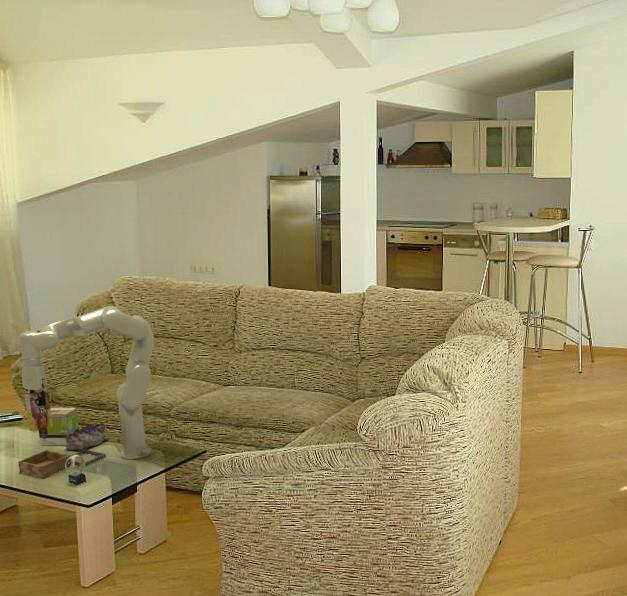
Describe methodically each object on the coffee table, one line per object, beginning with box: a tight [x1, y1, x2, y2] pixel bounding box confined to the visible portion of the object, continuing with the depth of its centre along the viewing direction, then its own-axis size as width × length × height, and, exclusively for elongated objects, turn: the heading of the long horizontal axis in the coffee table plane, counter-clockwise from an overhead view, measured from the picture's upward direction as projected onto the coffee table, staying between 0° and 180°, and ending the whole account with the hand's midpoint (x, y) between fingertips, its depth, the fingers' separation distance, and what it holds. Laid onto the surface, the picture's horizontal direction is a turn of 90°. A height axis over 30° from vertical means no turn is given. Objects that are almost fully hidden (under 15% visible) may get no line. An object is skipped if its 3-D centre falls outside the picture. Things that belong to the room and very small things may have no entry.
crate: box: [18, 449, 71, 480], centre depth 388 cm, size 15×15×5 cm
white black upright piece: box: [64, 454, 87, 486], centre depth 372 cm, size 6×8×11 cm
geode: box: [64, 422, 109, 452], centre depth 415 cm, size 20×12×10 cm, turn 142°
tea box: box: [38, 407, 80, 446], centre depth 421 cm, size 15×10×15 cm, turn 78°
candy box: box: [24, 390, 53, 433], centre depth 384 cm, size 9×4×15 cm, turn 137°
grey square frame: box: [70, 449, 107, 467], centre depth 397 cm, size 13×13×2 cm
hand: (37, 404), depth 383 cm, fingers closed on candy box, 4 cm apart
